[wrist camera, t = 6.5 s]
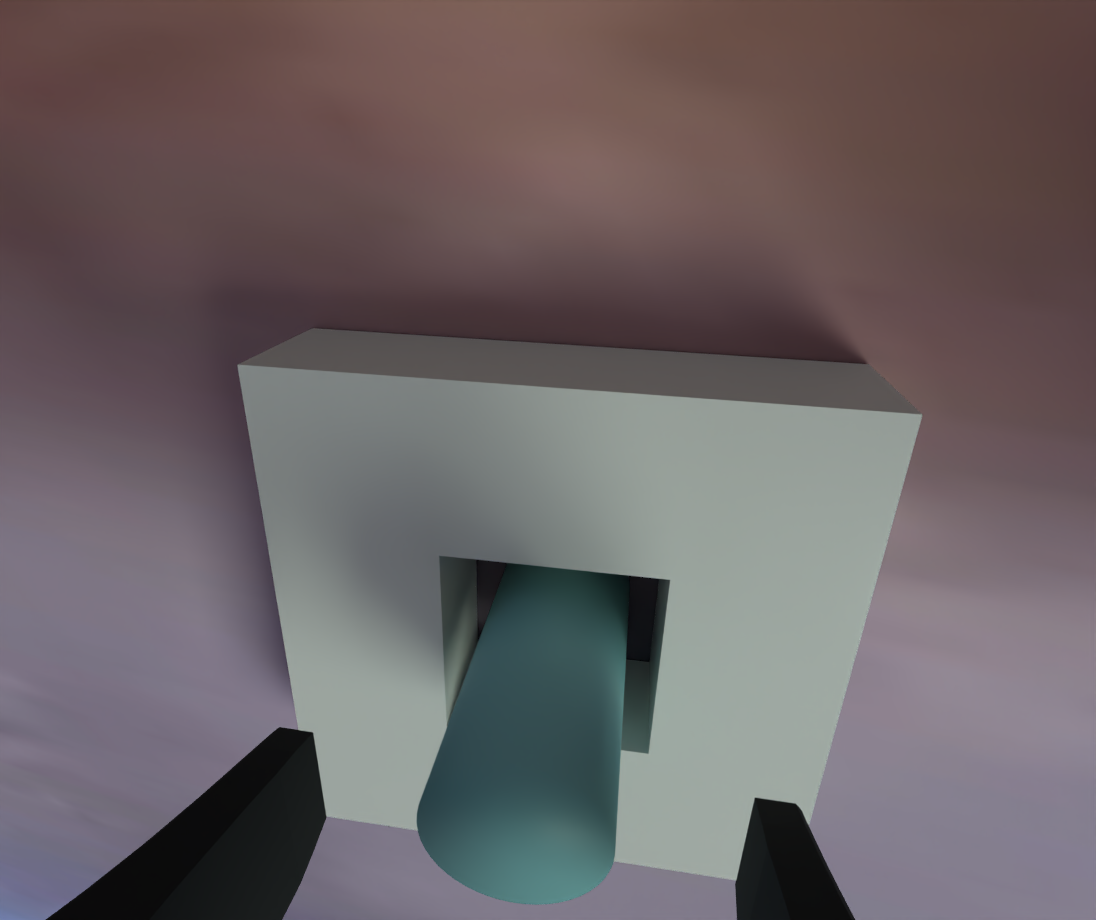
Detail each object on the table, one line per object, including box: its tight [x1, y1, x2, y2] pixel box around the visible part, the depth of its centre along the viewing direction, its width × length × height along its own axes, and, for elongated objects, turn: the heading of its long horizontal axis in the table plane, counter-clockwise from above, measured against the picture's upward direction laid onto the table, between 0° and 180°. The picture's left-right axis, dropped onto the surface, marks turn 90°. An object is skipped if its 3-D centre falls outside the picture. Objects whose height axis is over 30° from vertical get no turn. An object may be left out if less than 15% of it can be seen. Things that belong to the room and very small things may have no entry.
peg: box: [416, 563, 630, 904], centre depth 14 cm, size 3×3×7 cm
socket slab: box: [237, 328, 923, 880], centre depth 15 cm, size 12×12×3 cm
